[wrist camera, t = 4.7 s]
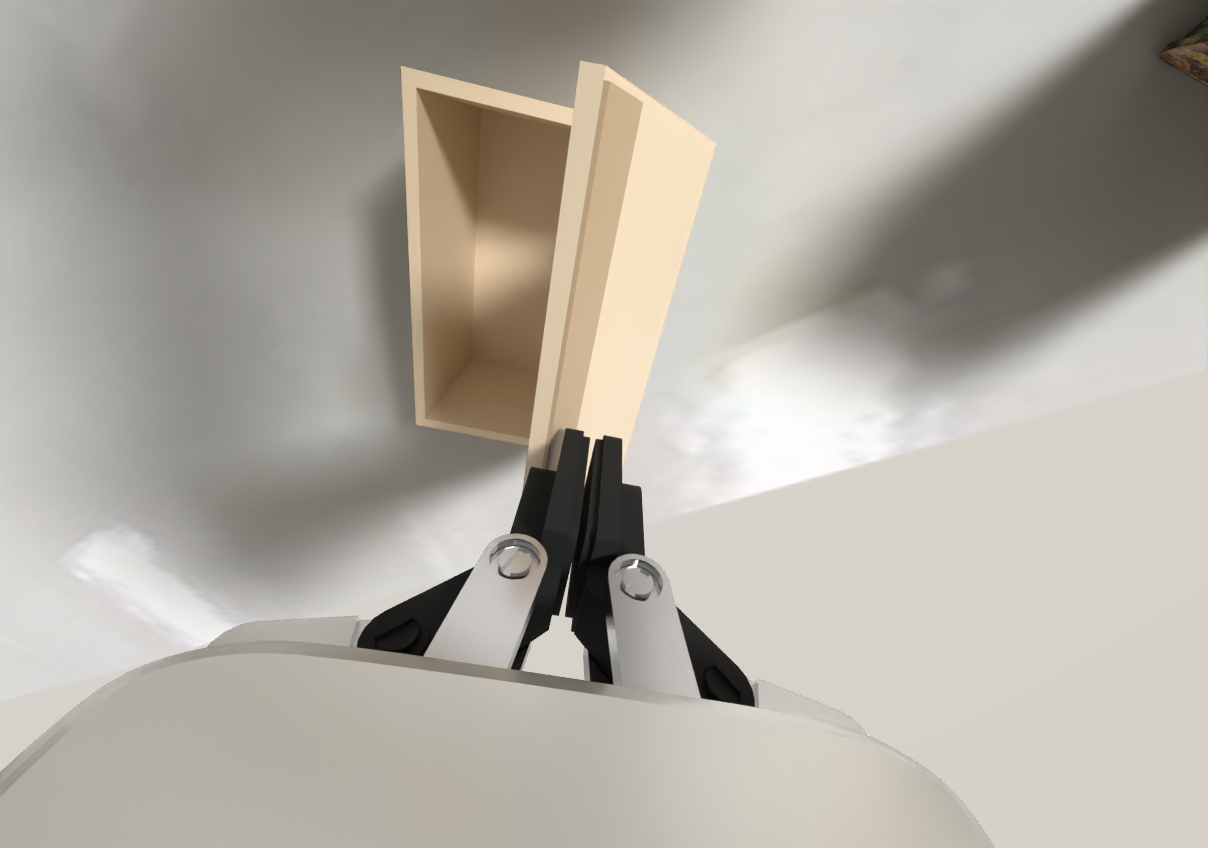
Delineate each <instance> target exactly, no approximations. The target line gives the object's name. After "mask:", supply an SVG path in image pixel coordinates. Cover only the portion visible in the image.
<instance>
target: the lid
mask: <svg viewBox="0 0 1208 848" xmlns="http://www.w3.org/2000/svg"><path fill="white" fill-rule="evenodd" d="M716 144H717V143H715V142H714V141H713V140H711V139H710V138H708V137H707V136H706V135H704V134H703V133H701V132H700V131H698V130H697V129H696V128H694V127H693V126H691V125H690V124H688V123H687V122H686V121H684V120H683V119H681V118H680V117H679V116H677V115H676V114H674V113H673V112H671V111H670V110H669V109H667V108H666V107H664V106H663V105H662V104H660V103H659V102H657V101H656V100H654V99H653V98H652V97H650V96H649V95H647V94H646V93H644V92H643V91H642V90H640V89H639V88H637V87H636V86H635V85H633V84H632V83H630V82H629V81H627V80H626V79H625V78H623V77H622V76H620V75H619V74H618V73H616V72H615V71H613V70H612V69H610V68H609V67H608V66H606V65H601V64H596V63H591V62H586V61H581V60H580V65H579V73H578V80H577V88H576V95H575V103H574V110H573V118H572V125H571V133H570V140H569V148H568V155H567V162H566V170H565V177H564V185H563V192H562V200H561V207H560V215H559V222H558V230H557V237H556V245H555V252H554V260H553V267H552V275H551V282H550V290H549V297H548V305H547V312H546V320H545V327H544V335H543V342H542V350H541V357H540V365H539V372H538V379H537V387H536V394H535V402H534V409H533V417H532V424H531V432H530V439H529V447H528V454H527V462H526V469H525V477H524V484H523V490H524V487H525V484H526V480H527V477H528V474H529V471H530V468H531V467H537V468H542V469H547V470H553V471H557V466H558V462H559V457H560V453H561V448H562V444H563V439H564V435H565V430H566V428H570V429H575V430H580V431H584V436H586V437H590V445H589V453H588V462H587V470H586V478H587V474H588V469H589V465H590V461H591V457H592V452H593V448H594V444H595V440H596V439H601V440H602V439H603V436H604V435H606V436H612V437H617V438H622V468H623V465H624V461H625V458H626V454H627V451H628V447H629V444H630V440H631V437H632V434H633V430H634V427H635V423H636V420H637V416H638V413H639V409H640V406H641V403H642V399H643V396H644V392H645V389H646V385H647V382H648V378H649V375H650V372H651V368H652V365H653V361H654V358H655V354H656V351H657V347H658V344H659V341H660V337H661V334H662V330H663V327H664V323H665V320H666V317H667V313H668V310H669V306H670V303H671V299H672V296H673V292H674V289H675V286H676V282H677V279H678V275H679V272H680V268H681V265H682V261H683V258H684V255H685V251H686V248H687V244H688V241H689V237H690V234H691V230H692V227H693V224H694V220H695V217H696V213H697V210H698V206H699V203H700V199H701V196H702V193H703V189H704V186H705V182H706V179H707V175H708V172H709V168H710V165H711V162H712V158H713V155H714V151H715V148H716ZM586 478H585V482H586ZM584 487H585V486H584ZM522 493H523V492H522Z"/></svg>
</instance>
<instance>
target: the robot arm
mask: <svg viewBox="0 0 1208 848" xmlns="http://www.w3.org/2000/svg"><path fill="white" fill-rule="evenodd" d="M589 445H590V437H586V436H584V431H580V430H575V429H570V428H566V430H565V435H564V439H563V444H562V448H561V453H560V457H559V462H558V466H557V471H553V470H547V469H542V468H537V467H531V468H530V471H529V474H528V477H527V480H526V484H525V487H524V490H523V493H522V497H521V500H520V503H519V506H518V509H517V513H516V516H515V519H514V522H513V526H512V529H511V532H510V534H506V535H503V536H500V537H498V538H496V539H495V540H493V541H492V542H490V543H489V545H488V546H487V547H486V548H485V550H484V551H483V553H482V555H481V557H480V558H479V560H478V562H477V564H476V565H475V567H473V568H471V569H469V570H467V571H465V572H463V573H461V574H459V575H457V576H455V577H453V578H451V579H449V580H447V581H445V582H443V583H441V584H439V585H437V586H435V587H433V588H431V589H429V590H427V591H425V592H423V593H421V594H419V595H417V596H415V597H413V598H411V599H409V600H407V601H404V602H402V603H400V604H398V605H396V606H394V607H392V608H390V609H388V610H386V611H384V612H383V613H381V614H380V615H378V616H377V617H375V618H374V619H373V620H359V618H358V616H343V617H326V618H308V619H290V620H273V621H256V622H251V623H246V624H241V625H239V626H237V627H235V628H232V629H230V630H228V631H226V632H224V633H223V634H222V635H220V636H219V637H218V638H216V639H215V640H214V641H212V642H211V643H210V644H209V646H208V647H206V648H202V649H197V650H193V651H188V652H184V653H180V654H177V655H173V656H170V657H166V658H163V659H160V660H157V661H154V662H151V663H148V664H145V665H143V666H141V667H138V668H136V669H134V670H132V671H130V672H127V673H125V674H123V675H122V676H120V677H118V678H117V679H115V680H113V681H111V682H110V683H108V684H106V685H105V686H103V687H102V688H100V689H99V690H97V691H96V692H95V693H93V694H92V695H90V696H89V697H88V698H86V699H85V700H84V701H82V702H81V703H80V704H78V705H77V706H76V707H74V708H73V709H72V710H71V711H70V712H69V713H67V714H66V715H64V716H63V717H62V718H61V719H60V720H59V721H57V722H56V723H55V724H54V725H53V726H52V727H50V728H49V729H48V730H47V731H46V732H45V733H43V734H42V735H41V736H40V737H39V738H38V739H37V740H35V741H34V742H33V743H32V744H31V745H30V746H28V747H27V748H26V749H25V750H24V751H23V752H22V753H21V754H20V755H18V756H17V757H16V758H15V759H14V760H13V761H12V762H11V763H10V764H9V765H7V766H6V767H5V768H4V769H3V770H2V771H1V772H0V848H995V847H994V845H993V844H992V842H991V840H990V839H989V837H988V836H987V834H986V833H985V831H984V830H983V828H982V827H981V825H980V824H979V822H978V821H977V820H976V818H975V817H974V816H973V814H972V813H971V812H970V810H969V809H968V808H967V806H966V805H965V804H964V803H963V802H962V800H961V799H960V798H959V797H958V796H957V795H956V793H955V792H954V791H953V790H951V788H949V787H948V786H947V785H946V784H945V783H944V782H943V781H942V780H941V779H940V778H938V777H937V776H936V775H934V774H933V773H932V772H930V771H929V770H928V769H927V768H925V767H923V766H922V765H921V764H919V763H918V762H916V761H915V760H913V759H912V758H910V757H908V756H906V755H905V754H903V753H901V752H899V751H898V750H896V749H894V748H892V747H890V746H888V745H887V744H885V743H883V742H881V741H879V740H877V739H875V738H872V737H870V736H867V734H866V733H865V731H864V730H863V728H862V727H861V726H860V725H859V724H858V723H857V722H856V721H855V720H853V719H852V718H851V717H850V716H848V715H846V714H845V713H843V712H841V711H839V710H837V709H834V708H832V707H829V706H826V705H824V704H822V703H819V702H817V701H814V700H812V699H809V698H807V697H804V696H802V695H799V694H797V693H794V692H792V691H789V690H786V689H784V688H781V687H779V686H776V685H774V684H771V683H769V682H766V681H764V680H761V679H759V678H758V679H757V680H756V682H753V681H751V680H748V679H747V677H746V676H745V675H744V673H743V672H742V671H741V670H740V668H739V667H738V666H737V665H736V664H735V663H734V662H733V661H732V660H731V659H730V658H729V657H728V656H727V655H726V654H725V653H723V652H722V651H721V650H720V649H719V648H718V647H717V646H716V645H715V644H714V643H713V642H712V641H711V640H710V639H709V638H708V637H707V636H706V635H705V634H704V633H703V632H702V631H701V630H700V629H699V628H698V627H697V626H696V625H695V624H694V623H693V622H692V621H691V620H690V619H689V618H688V617H687V616H686V615H685V614H684V613H683V612H682V611H681V610H680V609H679V608H678V607H676V605H675V601H674V598H673V594H672V590H671V586H670V583H669V580H668V577H667V575H666V573H665V571H664V570H663V569H662V568H661V567H660V565H659V564H657V563H656V562H655V561H653V560H652V559H650V558H648V557H645V550H644V531H643V511H642V492H641V487H639V486H634V485H628V484H623V483H622V438H617V437H612V436H606V435H604V436H603V439H602V440H601V439H596V440H595V444H594V448H593V452H592V457H591V461H590V465H589V469H588V474H587V478H586V470H587V462H588V453H589ZM585 478H586V482H585ZM584 486H585V487H584ZM571 563H572V566H571ZM570 567H571V574H570V582H569V589H568V597H567V604H566V612H565V617H571V618H573V619H572V629H571V631H572V632H574V634H575V635H576V637H577V638H578V639H579V640H580V642H581V643H582V644H583V645H584V653H583V660H584V676H585V680H578V679H571V678H565V677H558V676H551V675H545V674H538V673H532V672H525V671H522V670H523V667H524V664H525V662H526V659H527V656H528V653H529V650H530V647H531V642H532V641H533V640H534V639H536V638H537V637H539V636H540V635H542V634H543V633H545V632H546V631H548V630H549V626H550V621H551V617H552V615H557V616H559V612H560V608H561V604H562V600H563V596H564V592H565V588H566V584H567V580H568V575H569V571H570Z"/></svg>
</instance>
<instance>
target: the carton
mask: <svg viewBox="0 0 1208 848" xmlns="http://www.w3.org/2000/svg"><path fill="white" fill-rule="evenodd" d="M401 80H402V105H403V129H404V153H405V177H406V201H407V225H408V249H409V274H410V298H411V322H412V346H413V370H414V394H415V418H416V425H420V426H425V427H430V428H435V429H440V430H446V431H451V432H456V433H461V434H467V435H472V436H477V437H482V438H488V439H493V440H498V441H503V442H508V443H514V444H519V445H524V446H529V439H530V432H531V424H532V417H533V409H534V402H535V394H536V387H537V379H538V372H539V365H540V357H541V350H542V342H543V335H544V327H545V320H546V312H547V305H548V297H549V290H550V282H551V275H552V267H553V260H554V252H555V245H556V237H557V230H558V222H559V215H560V207H561V200H562V192H563V185H564V177H565V170H566V162H567V155H568V148H569V140H570V133H571V125H572V118H573V110H574V109H573V108H569V107H565V106H561V105H557V104H553V103H549V102H545V101H541V100H537V99H533V98H529V97H525V96H521V95H517V94H513V93H509V92H505V91H500V90H496V89H492V88H488V87H484V86H480V85H476V84H472V83H468V82H464V81H460V80H456V79H452V78H448V77H444V76H440V75H436V74H432V73H428V72H424V71H420V70H416V69H412V68H408V67H404V66H401Z"/></svg>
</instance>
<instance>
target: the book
mask: <svg viewBox="0 0 1208 848" xmlns="http://www.w3.org/2000/svg"><path fill="white" fill-rule="evenodd" d="M1160 58H1161V59H1162V60H1164V61H1165V62H1167V63H1169V64H1170V65H1172V66H1174V67H1176V68H1177V69H1179V70H1181V71H1182V72H1184V73H1186V74H1187V75H1189V76H1191V77H1193V78H1194V79H1196V80H1198V81H1200V82H1201V83H1203V84H1205V85H1207V86H1208V18H1207V19H1206V20H1204V21H1203V22H1202V23H1201V24H1200V25H1199V26H1198V27H1197V28H1195V29H1194V30H1193V31H1192V32H1190V33H1189V34H1188V35H1187V36H1186V37H1184V38H1183V39H1181V40H1178V41H1175V42H1172V43H1170V44H1169V45H1167V47H1166V48H1165V49H1164V50H1163V52H1162V53H1161V54H1160Z"/></svg>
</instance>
